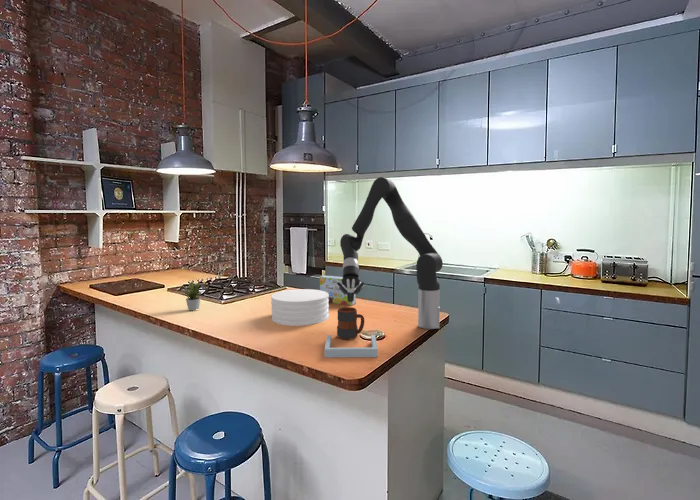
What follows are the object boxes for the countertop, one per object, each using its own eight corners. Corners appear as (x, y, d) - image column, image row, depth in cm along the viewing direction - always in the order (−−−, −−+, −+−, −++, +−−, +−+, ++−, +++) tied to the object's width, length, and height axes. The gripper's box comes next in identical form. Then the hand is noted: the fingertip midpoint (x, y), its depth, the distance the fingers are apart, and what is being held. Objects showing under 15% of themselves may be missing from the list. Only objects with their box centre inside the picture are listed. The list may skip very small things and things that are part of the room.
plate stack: (338, 320, 181) (338, 296, 180) (283, 329, 167) (282, 304, 166) (314, 307, 205) (314, 287, 204) (264, 315, 192) (263, 292, 190)
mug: (360, 342, 149) (359, 313, 148) (333, 338, 154) (333, 310, 153) (368, 336, 157) (368, 308, 156) (342, 332, 162) (342, 305, 161)
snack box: (319, 302, 218) (319, 276, 217) (324, 300, 223) (324, 275, 222) (351, 306, 208) (351, 279, 207) (356, 303, 213) (356, 277, 212)
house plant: (215, 308, 205) (214, 278, 203) (194, 314, 192) (193, 283, 191) (197, 305, 211) (196, 277, 210) (176, 311, 199) (174, 281, 197)
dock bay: (375, 342, 149) (375, 334, 149) (377, 357, 134) (377, 348, 134) (327, 342, 149) (327, 335, 149) (324, 357, 134) (324, 349, 134)
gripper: (336, 264, 174) (335, 296, 163) (365, 264, 174) (365, 296, 163) (336, 274, 179) (335, 305, 169) (364, 274, 179) (365, 305, 169)
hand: (350, 301), depth 166 cm, fingers closed
